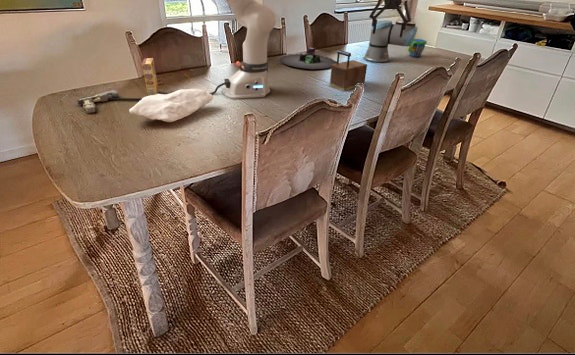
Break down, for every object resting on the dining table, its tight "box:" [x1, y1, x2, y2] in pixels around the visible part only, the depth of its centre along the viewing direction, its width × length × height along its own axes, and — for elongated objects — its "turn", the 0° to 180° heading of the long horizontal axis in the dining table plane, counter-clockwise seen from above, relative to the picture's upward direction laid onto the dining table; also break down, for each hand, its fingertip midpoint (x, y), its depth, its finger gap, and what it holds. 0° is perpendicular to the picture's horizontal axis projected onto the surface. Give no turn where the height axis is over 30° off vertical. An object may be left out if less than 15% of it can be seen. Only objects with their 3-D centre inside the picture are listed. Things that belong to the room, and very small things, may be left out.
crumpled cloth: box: [129, 88, 214, 123], centre depth 147 cm, size 24×35×9 cm
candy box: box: [141, 57, 160, 96], centre depth 163 cm, size 9×4×15 cm, turn 13°
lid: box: [330, 49, 368, 71], centre depth 181 cm, size 16×10×8 cm, turn 129°
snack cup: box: [407, 38, 428, 58], centre depth 243 cm, size 16×10×10 cm
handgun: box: [76, 89, 120, 114], centre depth 155 cm, size 3×18×15 cm
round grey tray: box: [279, 46, 337, 70], centre depth 221 cm, size 35×35×9 cm
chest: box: [329, 65, 368, 92], centre depth 186 cm, size 16×10×10 cm, turn 129°
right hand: (387, 35), depth 183 cm, fingers open, 13 cm apart
